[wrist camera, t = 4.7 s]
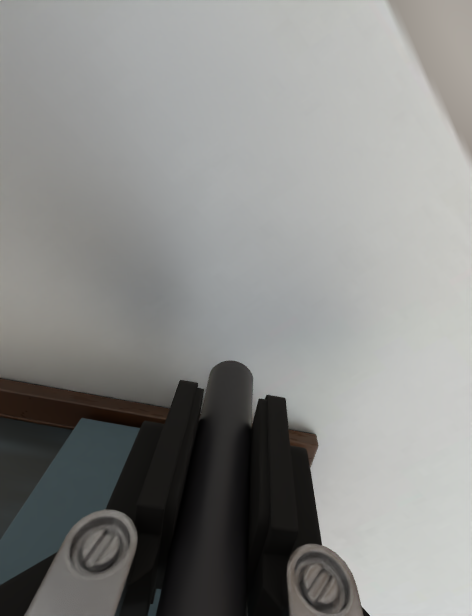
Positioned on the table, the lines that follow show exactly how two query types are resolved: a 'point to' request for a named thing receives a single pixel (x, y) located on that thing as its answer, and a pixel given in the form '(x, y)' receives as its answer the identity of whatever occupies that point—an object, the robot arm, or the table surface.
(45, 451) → the cupboard
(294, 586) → the robot arm
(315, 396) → the table surface
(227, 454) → the sliding door
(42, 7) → the table surface
